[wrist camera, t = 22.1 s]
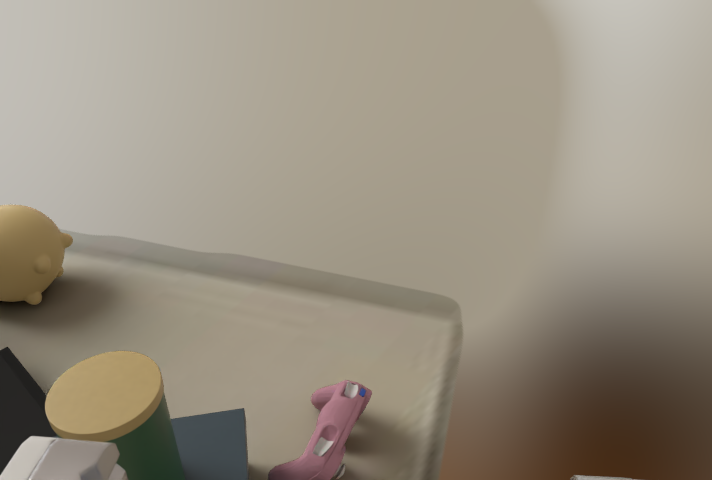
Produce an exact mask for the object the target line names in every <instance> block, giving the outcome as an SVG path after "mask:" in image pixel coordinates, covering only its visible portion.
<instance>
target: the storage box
mask: <svg viewBox="0 0 712 480" xmlns="http://www.w3.org/2000/svg"><path fill="white" fill-rule="evenodd" d="M171 423H172V427H173V431H174V435H175V439H176V443H177V447H178V451H179V455H180V459H181V463H182V467H183V471H184V475H185V480H249V470H248V452H247V434H246V418H245V411H244V408H242V409H235V410H229V411H222V412H215V413H209V414H202V415H195V416H189V417H182V418H175V419H171ZM52 438H58V436H55V437H52Z"/></svg>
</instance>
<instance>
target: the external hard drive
mask: <svg viewBox="0 0 712 480" xmlns="http://www.w3.org/2000/svg"><path fill="white" fill-rule="evenodd" d="M46 397H47V396H46V395H45V393H44V392H43V391H42V390H41V388H40V387H39V386H38V385H37V383H36V382H35V381H34V380H33V378H32V377H31V376H30V374H29V373H28V372H27V371H26V369H25V368H24V367H23V366H22V364H21V363H20V362H19V361H18V359H17V358H16V357H15V356H14V354H13V353H12V352H11V350H10V349H9V348H8V347H6V348H4V349H2V350H0V475H1V474H2V472H3V471H4V469H5V468H6V466H7V465H8V463H9V462H10V460H11V459H12V457H13V456H14V454H15V453H16V451H17V450H18V448H19V447H20V445H21V444H22V443H23V442H24V441H26V440H27V439H28V438H29V437H31V436H38V437H55V436H57V434H56V433H55V432H54V430H53V429H52V427H51V425H50V423H49V420H48V418H47V415H46V412H45V402H46Z"/></svg>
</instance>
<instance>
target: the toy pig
mask: <svg viewBox="0 0 712 480" xmlns="http://www.w3.org/2000/svg"><path fill="white" fill-rule="evenodd" d="M72 242H73V239H72V237H71V236H70V235H69V234H65V233H61V232H60V230H59V229H58V227H57V226H56V224H55V223H54V222H53V221H52V220H51V219H50V218H49V217H47V216H46V215H45V214H43V213H41V212H40V211H38V210H36V209H33V208H31V207H27V206H22V205H1V206H0V301H7V302H16V301H23V300H25V301H26V302H28V303H29V304H32V305H36V304H38V303H40V302H41V300H42V295H41V292H43V291H44V290H45V289H46V288H47V287H48V286H49V285H50V284H51V283H52V282H53V280H54V279H55V278H56V277H60V276H61V275H62V274H63V268H62V263H63V259H64V249H65V248H67V247H69V246H70V245H71V244H72Z"/></svg>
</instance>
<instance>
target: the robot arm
mask: <svg viewBox="0 0 712 480" xmlns="http://www.w3.org/2000/svg"><path fill="white" fill-rule="evenodd" d="M119 456H120V453H119V451H118V449H117V446H116V444H115V443H108V442H96V441H85V440H73V439H61V438H52V437H38V436H31V437H29V438H28V439H27V440H26V441H24V442H23V443H22V444H21V445H20V447H19V448H18V450H17V451H16V453H15V454H14V456H13V457H12V459H11V460H10V462H9V463H8V465H7V466H6V468H5V469H4V471H3V472H2V474H1V475H0V480H128V477H127V474H126V471H125V470H124V469H123V468H122V467H121V466H119V465H118V464H117V463H116V462H117V460H118V458H119ZM570 480H633V479H632V478H616V477H599V476H580V475H574V476H573V477H572V478H571V479H570Z"/></svg>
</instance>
